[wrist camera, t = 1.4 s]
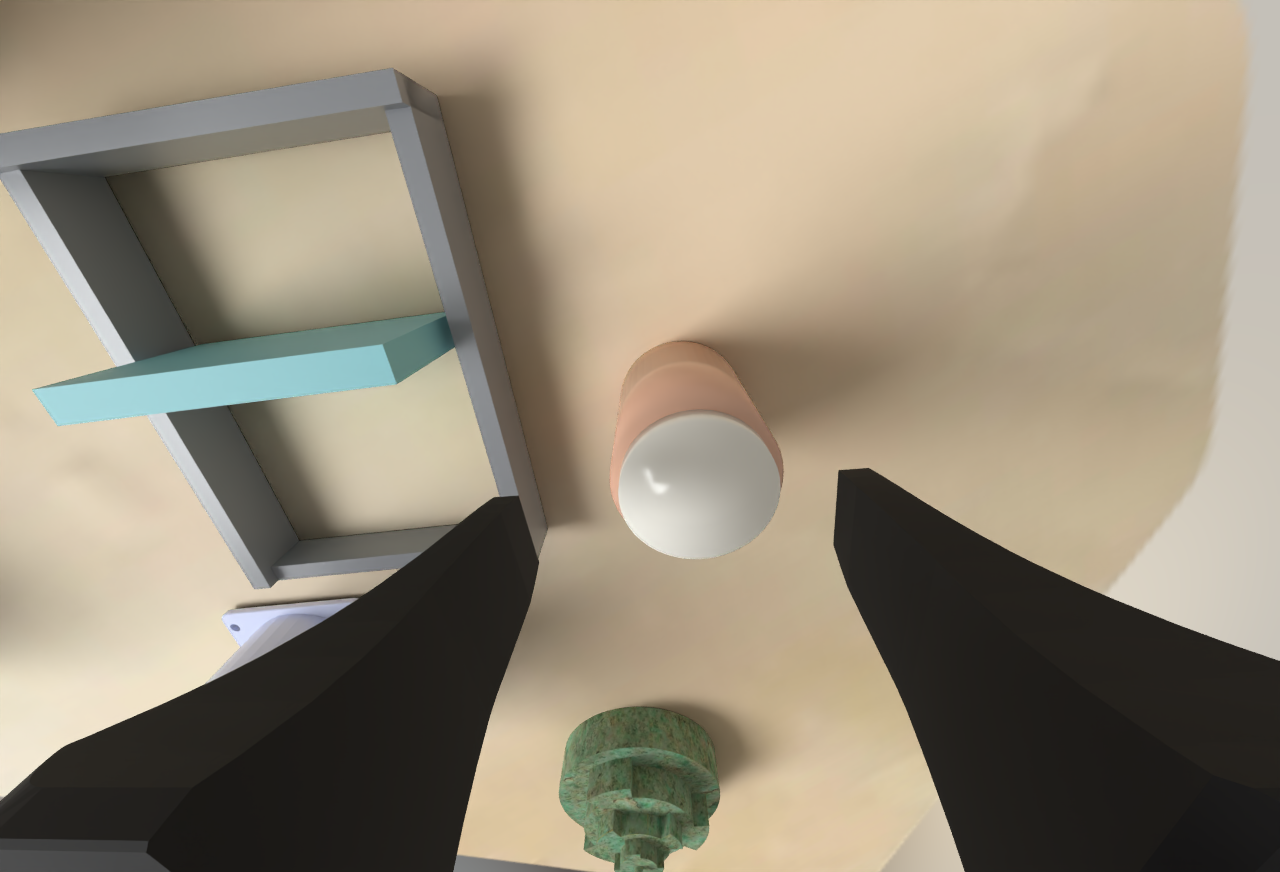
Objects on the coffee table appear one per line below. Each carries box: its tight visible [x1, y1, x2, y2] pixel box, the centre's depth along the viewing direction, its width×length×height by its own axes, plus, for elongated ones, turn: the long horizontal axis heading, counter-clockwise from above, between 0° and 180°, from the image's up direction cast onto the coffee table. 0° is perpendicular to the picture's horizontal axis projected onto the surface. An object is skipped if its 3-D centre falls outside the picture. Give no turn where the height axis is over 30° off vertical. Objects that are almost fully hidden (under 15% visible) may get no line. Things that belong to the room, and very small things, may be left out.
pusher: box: [32, 312, 455, 426], centre depth 16 cm, size 1×11×6 cm, turn 98°
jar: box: [610, 341, 784, 559], centre depth 17 cm, size 5×5×8 cm
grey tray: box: [0, 68, 548, 589], centre depth 18 cm, size 18×14×3 cm
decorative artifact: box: [559, 707, 720, 872], centre depth 28 cm, size 10×7×10 cm
